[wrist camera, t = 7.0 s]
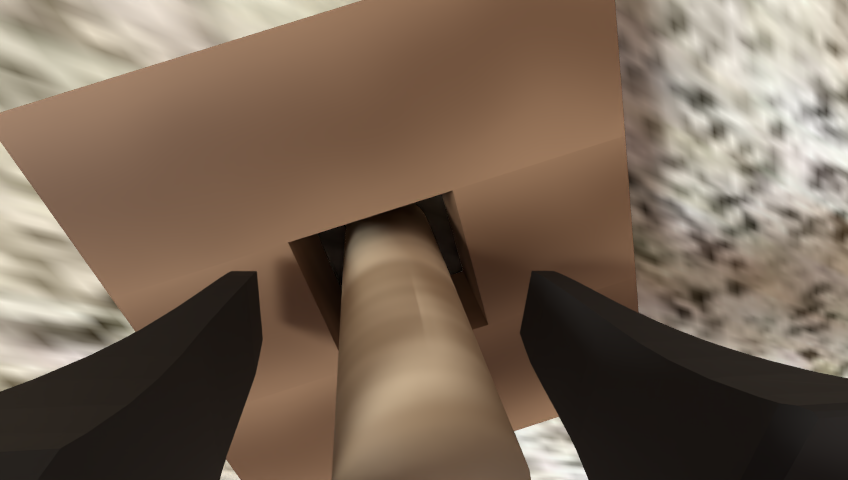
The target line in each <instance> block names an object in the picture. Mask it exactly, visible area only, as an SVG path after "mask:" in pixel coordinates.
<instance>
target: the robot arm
mask: <svg viewBox="0 0 848 480" xmlns="http://www.w3.org/2000/svg"><path fill="white" fill-rule="evenodd" d="M520 335H521V338H522V341H523V344H524V347H525V350H526V353H527V355H528V358H529V360H530V363H531V365H532V367H533V369H534V371H535V373H536V375H537V377H538V379H539V381H540V382H541V384H542V386H543V388H544V390H545V392H546V394H547V395H548V397H549V399H550V401H551V403H552V405H553V406H554V408H555V410H556V412H557V414H558V416H559V417H560V419H561V421H562V423H563V425H564V427H565V428H566V430H567V432H568V434H569V436H570V438H571V440H572V442H573V444H574V446H575V448H576V450H577V453H578V455H579V458H580V460H581V462H582V465H583V467H584V470H585V472H586V475H587V477H588V479H589V480H848V378H843V377H838V376H833V375H828V374H823V373H818V372H813V371H809V370H805V369H801V368H797V367H793V366H789V365H785V364H781V363H777V362H773V361H769V360H766V359H762V358H759V357H755V356H751V355H748V354H745V353H742V352H739V351H735V350H732V349H729V348H726V347H723V346H720V345H717V344H714V343H711V342H708V341H705V340H702V339H699V338H697V337H694V336H692V335H689V334H687V333H684V332H681V331H679V330H676V329H674V328H671V327H669V326H666V325H664V324H662V323H659V322H657V321H655V320H653V319H651V318H649V317H646V316H644V315H642V314H640V313H638V312H636V311H634V310H632V309H630V308H627V307H625V306H623V305H621V304H619V303H618V302H616V301H614V300H612V299H610V298H608V297H606V296H604V295H602V294H600V293H598V292H596V291H594V290H593V289H591V288H589V287H587V286H585V285H583V284H581V283H579V282H577V281H575V280H573V279H571V278H569V277H567V276H565V275H563V274H560V273H558V272H555V271H532V272H531V277H530V282H529V287H528V293H527V298H526V303H525V308H524V313H523V318H522V324H521V329H520ZM262 341H263V335H262V323H261V312H260V301H259V289H258V278H257V271H230V272H229V273H227V274H225V275H224V276H222V277H220V278H219V279H217V280H216V281H215V282H213V283H212V284H210V285H209V286H207V287H206V288H204V289H203V290H202V291H200V292H199V293H197V294H196V295H194V296H193V297H191V298H190V299H188V300H187V301H185V302H184V303H182V304H181V305H179V306H178V307H176V308H175V309H173V310H171V311H170V312H168V313H167V314H165V315H163V316H162V317H160V318H158V319H157V320H155V321H153V322H152V323H150V324H149V325H147V326H145V327H144V328H142V329H140V330H139V331H137V332H135V333H133V334H131V335H129V336H128V337H126V338H124V339H122V340H120V341H118V342H116V343H114V344H112V345H110V346H108V347H106V348H104V349H102V350H100V351H98V352H96V353H94V354H92V355H90V356H88V357H85V358H83V359H81V360H78V361H76V362H74V363H71V364H69V365H66V366H64V367H62V368H59V369H57V370H55V371H52V372H50V373H48V374H45V375H43V376H40V377H38V378H36V379H33V380H31V381H28V382H25V383H23V384H20V385H17V386H14V387H12V388H9V389H6V390H4V391H1V392H0V480H220V476H221V473H222V470H223V466H224V463H225V460H226V457H227V454H228V451H229V448H230V445H231V442H232V440H233V437H234V434H235V431H236V429H237V426H238V423H239V420H240V417H241V415H242V412H243V409H244V406H245V403H246V401H247V398H248V395H249V392H250V389H251V386H252V384H253V381H254V378H255V375H256V371H257V366H258V361H259V357H260V352H261V346H262Z"/></svg>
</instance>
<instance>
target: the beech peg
mask: <svg viewBox="0 0 848 480" xmlns="http://www.w3.org/2000/svg"><path fill="white" fill-rule="evenodd" d="M332 480H531V477H530V471H529V468H528V465H527V462H526V460H525V458H524V455H523V453H522V450H521V448H520V445H519V443H518V440H517V438H516V435H515V433H514V431H513V428H512V426H511V423H510V421H509V418H508V416H507V413H506V411H505V409H504V406H503V404H502V401H501V399H500V396H499V394H498V391H497V389H496V387H495V384H494V382H493V379H492V377H491V374H490V372H489V369H488V367H487V365H486V362H485V360H484V357H483V355H482V352H481V350H480V347H479V345H478V342H477V340H476V338H475V335H474V333H473V330H472V328H471V325H470V323H469V320H468V318H467V316H466V313H465V311H464V308H463V306H462V303H461V301H460V298H459V296H458V294H457V291H456V289H455V286H454V284H453V281H452V279H451V276H450V274H449V271H448V269H447V267H446V264H445V262H444V259H443V257H442V254H441V252H440V249H439V247H438V245H437V242H436V240H435V237H434V235H433V232H432V230H431V227H430V225H429V223H428V220H427V218H426V216H425V214H424V213H423V211H422V210H421V209H420V208H419V207H418V206H417V205H416V204H415V203H411V204H408V205H405V206H402V207H399V208H395V209H392V210H389V211H386V212H383V213H380V214H377V215H373V216H370V217H367V218H364V219H361V220H358V221H354V222H351V223H348V224H347V225H346V230H345V244H344V262H343V280H342V298H341V317H340V335H339V353H338V372H337V390H336V408H335V427H334V445H333V463H332Z"/></svg>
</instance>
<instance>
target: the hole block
mask: <svg viewBox="0 0 848 480" xmlns="http://www.w3.org/2000/svg"><path fill="white" fill-rule="evenodd" d="M0 142H1V143H2V144H3V146H4V147H5V149H6V150H7V151H8V153H9V154H10V156H11V157H12V158H13V160H14V161H15V163H16V164H17V165H18V167H19V168H20V170H21V171H22V173H23V174H24V175H25V177H26V178H27V180H28V181H29V182H30V184H31V185H32V187H33V188H34V189H35V191H36V192H37V194H38V195H39V196H40V198H41V199H42V201H43V202H44V203H45V205H46V206H47V208H48V209H49V211H50V212H51V213H52V215H53V216H54V218H55V219H56V220H57V222H58V223H59V225H60V226H61V227H62V229H63V230H64V232H65V233H66V234H67V236H68V237H69V239H70V240H71V242H72V243H73V244H74V246H75V247H76V249H77V250H78V251H79V253H80V254H81V256H82V257H83V258H84V260H85V261H86V263H87V264H88V265H89V267H90V268H91V270H92V271H93V272H94V274H95V275H96V277H97V278H98V280H99V281H100V282H101V284H102V285H103V287H104V288H105V289H106V291H107V292H108V294H109V295H110V296H111V298H112V299H113V301H114V302H115V303H116V305H117V306H118V308H119V309H120V310H121V312H122V313H123V315H124V316H125V318H126V319H127V320H128V322H129V323H130V325H131V326H132V327H133V329H134V330H135V332H137V331H139V330H140V329H142V328H144V327H145V326H147V325H149V324H150V323H152V322H153V321H155V320H157V319H158V318H160V317H162V316H163V315H165V314H167V313H168V312H170V311H171V310H173V309H175V308H176V307H178V306H179V305H181V304H182V303H184V302H185V301H187V300H188V299H190V298H191V297H193V296H194V295H196V294H197V293H199V292H200V291H202V290H203V289H204V288H206V287H207V286H209V285H210V284H212V283H213V282H215V281H216V280H217V279H219V278H220V277H222V276H224V275H225V274H227V273H229V272H230V271H257V278H258V289H259V301H260V312H261V323H262V335H263V341H262V346H261V352H260V357H259V361H258V366H257V371H256V375H255V378H254V381H253V384H252V386H251V389H250V392H249V395H248V398H247V401H246V403H245V406H244V409H243V412H242V415H241V417H240V420H239V423H238V426H237V429H236V431H235V434H234V437H233V440H232V442H231V445H230V448H229V451H228V454H227V457H226V460H227V461H228V463H229V464H230V465H231V467H232V468H233V470H234V471H235V472H236V474H237V475H238V477H239V478H240V479H241V480H332V463H333V445H334V427H335V408H336V390H337V372H338V353H339V335H340V317H341V298H342V290H341V288H340V286H339V283H338V281H337V279H336V276H335V274H334V272H333V269H332V267H331V265H330V262H329V260H328V258H327V255H326V253H325V251H324V248H323V246H322V244H321V241H320V239H319V237H318V234H317V233H320V232H323V231H326V230H329V229H332V228H336V227H339V226H342V225H345V224H348V223H351V222H354V221H358V220H361V219H364V218H367V217H370V216H373V215H377V214H380V213H383V212H386V211H389V210H392V209H395V208H399V207H402V206H405V205H408V204H411V203H414V202H418V201H421V200H424V199H427V198H430V197H433V196H436V195H440V194H442V197H443V201H444V204H445V208H446V212H447V215H448V219H449V223H450V226H451V230H452V233H453V237H454V241H455V244H456V248H457V251H458V255H459V259H460V262H461V266H462V269H463V271H462V272H459V273H455V274H452V275H450V276H451V279H452V281H453V284H454V286H455V289H456V291H457V294H458V296H459V298H460V301H461V303H462V306H463V308H464V311H465V313H466V316H467V318H468V320H469V323H470V325H471V328H472V330H473V333H474V335H475V338H476V340H477V342H478V345H479V347H480V350H481V352H482V355H483V357H484V360H485V362H486V365H487V367H488V369H489V372H490V374H491V377H492V379H493V382H494V384H495V387H496V389H497V391H498V394H499V396H500V399H501V401H502V404H503V406H504V409H505V411H506V413H507V416H508V418H509V421H510V423H511V426H512V428H513V431H516V430H519V429H522V428H525V427H528V426H531V425H534V424H537V423H541V422H544V421H547V420H550V419H553V418H556V417H559V416H558V414H557V412H556V410H555V408H554V406H553V405H552V403H551V401H550V399H549V397H548V395H547V394H546V392H545V390H544V388H543V386H542V384H541V382H540V381H539V379H538V377H537V375H536V373H535V371H534V369H533V367H532V365H531V363H530V360H529V358H528V355H527V353H526V350H525V347H524V344H523V341H522V338H521V335H520V329H521V324H522V318H523V313H524V308H525V303H526V298H527V293H528V287H529V282H530V277H531V272H532V271H555V272H558V273H560V274H563V275H565V276H567V277H569V278H571V279H573V280H575V281H577V282H579V283H581V284H583V285H585V286H587V287H589V288H591V289H593V290H594V291H596V292H598V293H600V294H602V295H604V296H606V297H608V298H610V299H612V300H614V301H616V302H618V303H619V304H621V305H623V306H625V307H627V308H630V309H632V310H634V311H636V312H638V299H637V286H636V273H635V260H634V247H633V233H632V220H631V207H630V194H629V180H628V167H627V154H626V141H625V127H624V114H623V101H622V88H621V74H620V61H619V48H618V35H617V21H616V8H615V0H362V1H359V2H355V3H352V4H349V5H346V6H342V7H339V8H336V9H333V10H330V11H326V12H323V13H320V14H317V15H313V16H310V17H307V18H304V19H301V20H297V21H294V22H291V23H288V24H284V25H281V26H278V27H275V28H272V29H268V30H265V31H262V32H259V33H255V34H252V35H249V36H246V37H242V38H239V39H236V40H233V41H230V42H226V43H223V44H220V45H217V46H213V47H210V48H207V49H204V50H201V51H197V52H194V53H191V54H188V55H184V56H181V57H178V58H175V59H172V60H168V61H165V62H162V63H159V64H155V65H152V66H149V67H146V68H142V69H139V70H136V71H133V72H130V73H126V74H123V75H120V76H117V77H113V78H110V79H107V80H104V81H101V82H97V83H94V84H91V85H88V86H84V87H81V88H78V89H75V90H72V91H68V92H65V93H62V94H59V95H55V96H52V97H49V98H46V99H42V100H39V101H36V102H33V103H30V104H26V105H23V106H20V107H17V108H13V109H10V110H7V111H4V112H1V113H0Z"/></svg>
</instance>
